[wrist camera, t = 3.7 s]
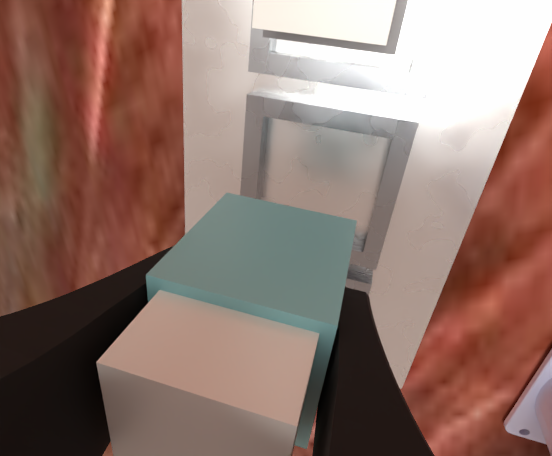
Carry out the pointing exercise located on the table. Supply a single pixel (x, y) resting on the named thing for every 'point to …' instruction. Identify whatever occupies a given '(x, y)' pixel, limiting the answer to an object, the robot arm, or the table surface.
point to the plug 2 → (333, 22)
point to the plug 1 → (231, 335)
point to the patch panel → (362, 135)
